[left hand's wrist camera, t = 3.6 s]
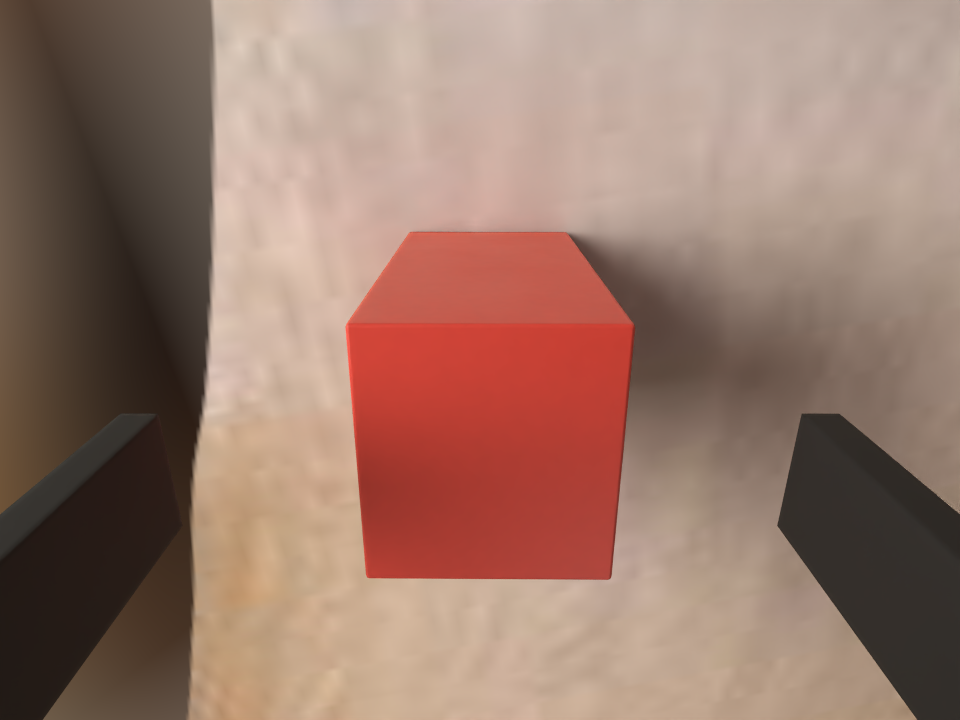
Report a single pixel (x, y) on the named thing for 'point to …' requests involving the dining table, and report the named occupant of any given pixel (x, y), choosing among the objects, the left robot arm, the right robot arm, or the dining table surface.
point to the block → (489, 409)
